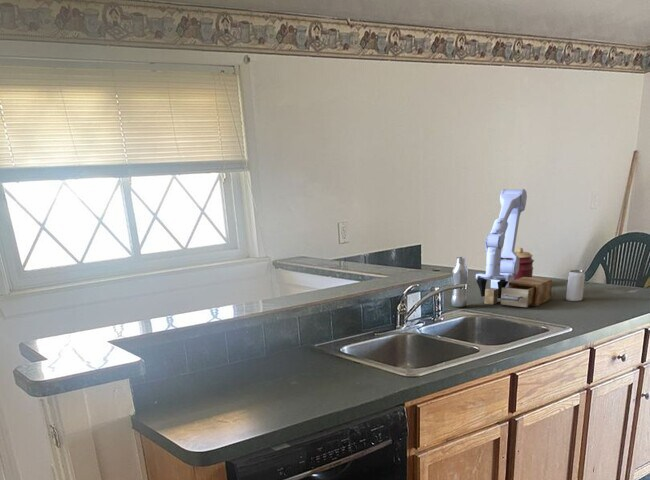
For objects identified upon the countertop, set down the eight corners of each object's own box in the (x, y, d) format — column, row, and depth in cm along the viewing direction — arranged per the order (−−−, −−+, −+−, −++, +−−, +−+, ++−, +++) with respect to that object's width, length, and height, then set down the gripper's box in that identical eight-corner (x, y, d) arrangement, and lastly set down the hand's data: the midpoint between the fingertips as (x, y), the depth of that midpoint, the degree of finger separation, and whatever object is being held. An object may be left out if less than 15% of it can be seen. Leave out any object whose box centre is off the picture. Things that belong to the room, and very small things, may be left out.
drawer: (522, 309, 259) (523, 292, 256) (495, 306, 265) (496, 289, 263) (540, 301, 271) (542, 284, 269) (514, 298, 278) (516, 282, 275)
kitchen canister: (502, 288, 303) (505, 249, 296) (503, 283, 314) (506, 245, 307) (531, 289, 299) (535, 249, 292) (532, 284, 310) (535, 245, 303)
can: (579, 298, 277) (583, 269, 273) (584, 301, 271) (587, 272, 267) (564, 298, 278) (567, 270, 273) (567, 301, 272) (571, 272, 267)
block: (484, 303, 275) (485, 289, 273) (488, 301, 278) (489, 287, 276) (493, 304, 273) (494, 290, 271) (497, 302, 276) (498, 288, 273)
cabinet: (536, 306, 267) (538, 284, 264) (507, 302, 275) (508, 282, 271) (550, 299, 277) (552, 279, 274) (522, 296, 285) (523, 276, 282)
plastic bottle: (468, 305, 273) (470, 256, 265) (464, 309, 267) (466, 259, 259) (453, 304, 275) (455, 256, 268) (449, 308, 270) (450, 258, 262)
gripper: (472, 264, 271) (471, 297, 276) (505, 266, 262) (503, 300, 267) (480, 261, 276) (479, 294, 281) (513, 264, 267) (510, 297, 272)
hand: (491, 297), depth 275 cm, fingers open, 7 cm apart
